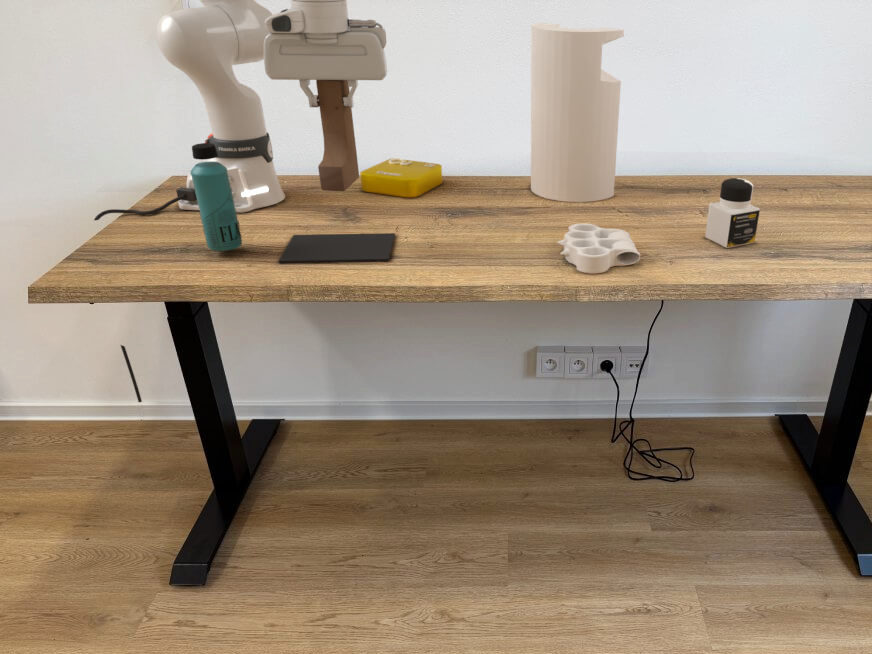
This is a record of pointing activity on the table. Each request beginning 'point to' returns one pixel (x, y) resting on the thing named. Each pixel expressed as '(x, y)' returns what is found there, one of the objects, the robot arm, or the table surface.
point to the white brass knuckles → (598, 248)
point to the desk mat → (338, 248)
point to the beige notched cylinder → (572, 114)
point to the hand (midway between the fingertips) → (331, 106)
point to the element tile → (401, 178)
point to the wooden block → (336, 137)
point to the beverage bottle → (215, 200)
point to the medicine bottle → (733, 215)
